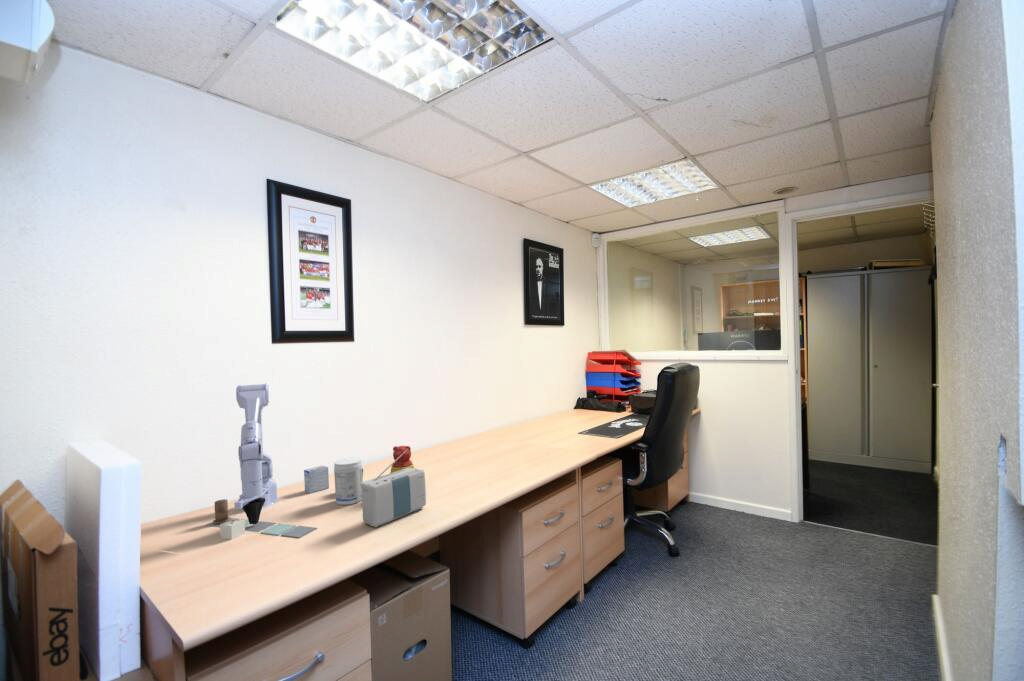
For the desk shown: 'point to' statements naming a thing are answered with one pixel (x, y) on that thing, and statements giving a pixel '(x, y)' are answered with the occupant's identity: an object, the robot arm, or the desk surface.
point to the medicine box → (316, 479)
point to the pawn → (221, 512)
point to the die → (232, 529)
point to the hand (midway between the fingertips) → (254, 523)
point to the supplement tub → (348, 480)
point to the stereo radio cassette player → (393, 495)
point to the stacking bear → (401, 458)
